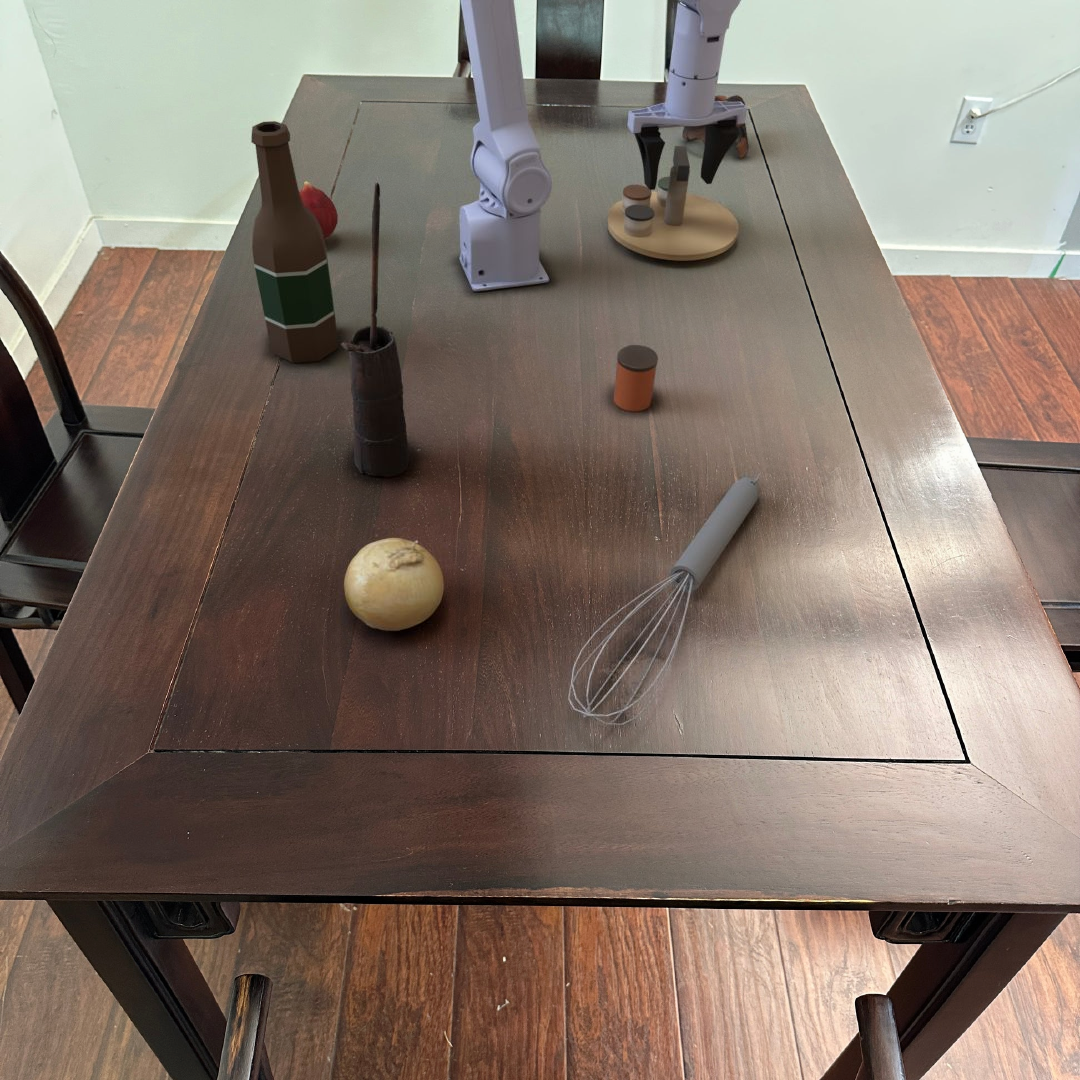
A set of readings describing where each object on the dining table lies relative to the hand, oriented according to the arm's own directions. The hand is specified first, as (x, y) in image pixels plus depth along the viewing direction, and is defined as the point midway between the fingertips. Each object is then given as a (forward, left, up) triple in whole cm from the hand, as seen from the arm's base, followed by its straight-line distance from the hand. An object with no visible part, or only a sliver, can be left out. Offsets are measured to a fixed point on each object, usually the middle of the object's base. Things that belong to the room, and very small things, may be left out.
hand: (678, 183), depth 122 cm
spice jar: (-17, -32, -7) cm, 37 cm away
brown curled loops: (+17, +24, -7) cm, 30 cm away
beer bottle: (-49, -14, -7) cm, 51 cm away
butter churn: (-45, -36, -7) cm, 58 cm away
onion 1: (-45, +8, -7) cm, 46 cm away
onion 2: (-46, -54, -7) cm, 71 cm away
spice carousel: (0, 0, -6) cm, 6 cm away
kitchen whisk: (-23, -59, -7) cm, 64 cm away
